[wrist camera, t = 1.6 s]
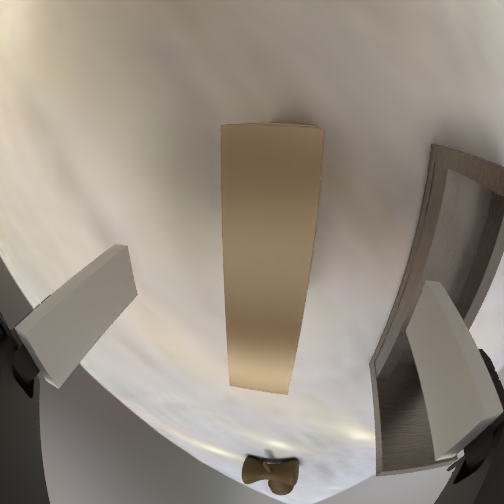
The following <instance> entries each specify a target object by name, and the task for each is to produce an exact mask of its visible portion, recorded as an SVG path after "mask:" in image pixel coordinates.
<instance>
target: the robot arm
mask: <svg viewBox="0 0 504 504" xmlns="http://www.w3.org/2000/svg"><path fill="white" fill-rule="evenodd" d="M137 295H138V294H137V290H136V286H135V281H134V276H133V272H132V267H131V262H130V257H129V251H128V246H126V245H118V244H115V245H113V246H112V247H111V248H109V249H108V250H107V251H105V252H104V253H103V254H101V255H100V256H99V257H97V258H96V259H95V260H94V261H92V262H91V263H90V264H88V265H87V266H86V267H85V268H83V269H82V270H81V271H79V272H78V273H77V274H76V275H74V276H73V277H72V278H71V279H70V280H68V281H67V282H66V283H65V284H63V285H62V286H61V287H60V288H59V289H57V290H56V291H55V292H54V293H53V294H51V295H49V296H48V297H47V298H46V299H45V300H43V301H42V302H41V304H39V305H38V306H37V307H36V308H35V310H32V311H31V312H30V313H29V314H28V315H27V316H26V317H24V318H23V319H22V320H21V321H20V322H19V323H18V324H17V325H16V326H15V327H14V328H13V329H12V330H9V328H8V326H7V324H6V322H5V320H4V318H3V316H2V314H1V312H0V504H50V501H49V497H48V492H47V487H46V481H45V476H44V468H43V461H42V451H41V440H40V420H39V391H40V380H39V377H38V376H37V374H38V373H39V372H41V373H42V375H43V376H44V377H45V379H46V381H47V382H49V383H50V384H52V385H53V386H55V387H57V388H58V389H59V388H60V387H61V385H62V384H63V382H64V381H65V380H66V379H67V377H68V376H69V375H70V374H71V372H72V371H73V370H74V369H75V367H76V366H77V365H78V364H79V363H80V361H81V360H82V359H83V358H84V356H85V355H86V354H87V353H88V352H89V350H90V349H91V348H92V347H93V346H94V344H95V343H96V342H97V341H98V340H99V338H100V337H101V336H102V335H103V334H104V333H105V331H106V330H107V329H108V328H109V327H110V326H111V324H112V323H113V322H114V321H115V320H116V319H117V318H118V316H119V315H120V314H121V313H122V312H123V311H124V310H125V308H126V307H127V306H128V305H129V304H130V303H131V302H132V301H133V299H134V298H135V297H136V296H137ZM406 334H407V337H408V340H409V343H410V346H411V350H412V353H413V357H414V360H415V364H416V367H417V371H418V375H419V379H420V382H421V387H422V391H423V395H424V399H425V404H426V408H427V413H428V418H429V423H430V429H431V435H432V441H433V447H434V454H435V461H437V460H442V459H447V458H451V457H454V456H455V455H456V454H457V453H459V452H460V451H461V450H462V449H464V454H465V455H464V456H463V457H462V458H460V459H459V460H458V461H456V462H455V463H454V464H452V465H451V466H450V467H449V468H448V469H447V471H450V470H452V469H453V468H454V467H456V468H455V470H454V471H453V472H452V475H451V477H450V479H449V481H448V482H447V484H446V486H445V487H444V489H443V491H442V492H441V494H440V495H439V497H438V499H437V500H436V502H435V503H434V504H504V389H503V386H502V384H501V381H500V380H499V377H498V374H497V372H496V371H495V368H494V366H493V363H492V361H491V359H490V358H489V357H488V355H487V354H486V353H485V352H484V351H483V350H482V349H478V348H477V346H476V344H475V342H474V340H473V338H472V336H471V334H470V332H469V330H468V328H467V327H466V325H465V323H464V321H463V319H462V317H461V316H460V314H459V312H458V310H457V309H456V307H455V305H454V304H453V302H452V300H451V298H450V297H449V295H448V294H447V292H446V290H445V289H444V287H443V286H442V284H441V282H437V281H427V280H426V281H425V284H424V286H423V289H422V292H421V295H420V297H419V300H418V303H417V305H416V308H415V310H414V313H413V315H412V317H411V320H410V322H409V325H408V327H407V329H406Z"/></svg>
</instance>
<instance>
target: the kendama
mask: <svg viewBox="0 0 504 504" xmlns="http://www.w3.org/2000/svg"><path fill="white" fill-rule="evenodd" d="M298 473H299V465H298V461H297V460H296V459H292V460H290V461H287V462H284V463H281V464H268V463H267V462H263V463H262V462H260V461H258V460H256V459H255V458H253V457H251V456H248V457H247V458H246V459H245V461H244V464H243V468H242V480H243V482H244V483H245V484H251V483H254V482H256V481H259V480H264V479H267V480H269V481H268V485H269V487H270V489H271V491H272V492H273V493H275V494H277V495H286V494H288V493H290V492H291V491H292V490H293V487H294V486H295V484H296V483H297V480H298Z"/></svg>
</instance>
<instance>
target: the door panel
mask: <svg viewBox="0 0 504 504" xmlns="http://www.w3.org/2000/svg"><path fill="white" fill-rule="evenodd" d="M323 142H324V130H323V129H321V128H319V127H317V126H311V125H300V124H285V123H246V124H229V125H221V191H222V238H223V268H224V293H225V315H226V334H227V351H228V367H229V381H230V386H235V387H240V388H245V389H251V390H257V391H263V392H270V393H277V394H285V395H288V390H289V385H290V381H291V376H292V371H293V366H294V361H295V356H296V352H297V347H298V341H299V336H300V331H301V325H302V319H303V313H304V307H305V301H306V295H307V289H308V282H309V275H310V269H311V261H312V254H313V246H314V239H315V230H316V222H317V213H318V204H319V194H320V183H321V172H322V170H321V169H322V156H323Z"/></svg>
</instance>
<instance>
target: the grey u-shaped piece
mask: <svg viewBox="0 0 504 504" xmlns="http://www.w3.org/2000/svg"><path fill="white" fill-rule="evenodd" d="M503 252H504V167H502V166H500V165H497V164H495V163H492V162H489V161H487V160H484V159H481V158H478V157H475V156H472V155H469V154H466V153H463V152H460V151H457V150H453V149H450V148H447V147H443V146H439V145H436V144H432V147H431V156H430V163H429V170H428V177H427V183H426V188H425V194H424V199H423V204H422V209H421V214H420V218H419V222H418V227H417V231H416V235H415V239H414V243H413V246H412V250H411V254H410V257H409V261H408V264H407V267H406V271H405V274H404V277H403V280H402V283H401V286H400V289H399V292H398V295H397V298H396V301H395V303H394V306H393V309H392V312H391V314H390V317H389V319H388V322H387V325H386V327H385V329H384V332H383V334H382V337H381V339H380V341H379V344H378V346H377V348H376V351H375V353H374V355H373V357H372V359H371V362H370V364H369V365H370V373H371V382H372V392H373V404H374V418H375V436H376V476H385V475H395V474H403V473H410V472H417V471H422V470H428V469H433V468H438V467H442V466H447V465H450V464H452V463H453V462H454V461H456V460H457V459H458V458H457V454H456V455H455V456H454V457H451V458H447V459H442V460H437V461H435V454H434V447H433V441H432V435H431V429H430V423H429V418H428V413H427V408H426V404H425V399H424V395H423V391H422V387H421V382H420V379H419V375H418V371H417V367H416V364H415V360H414V357H413V353H412V350H411V346H410V343H409V340H408V337H407V334H406V329H407V327H408V325H409V322H410V320H411V317H412V315H413V313H414V310H415V308H416V305H417V303H418V300H419V297H420V295H421V292H422V289H423V286H424V284H425V281H426V280H427V281H437V282H441V284H442V286H443V287H444V289H445V290H446V292H447V294H448V295H449V297H450V298H451V300H452V302H453V304H454V305H455V307H456V309H457V310H458V312H459V314H460V316H461V317H462V319H463V321H464V323H465V325H466V327H467V328H468V330H469V329H470V327H471V325H472V323H473V321H474V319H475V317H476V315H477V313H478V311H479V309H480V307H481V305H482V303H483V301H484V299H485V297H486V295H487V292H488V290H489V288H490V285H491V283H492V281H493V278H494V276H495V273H496V271H497V268H498V266H499V263H500V260H501V258H502V255H503Z"/></svg>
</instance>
